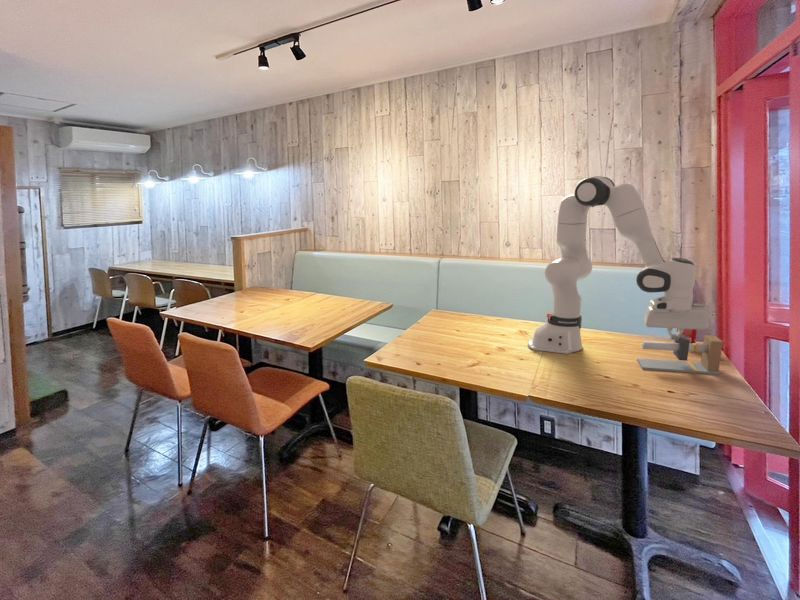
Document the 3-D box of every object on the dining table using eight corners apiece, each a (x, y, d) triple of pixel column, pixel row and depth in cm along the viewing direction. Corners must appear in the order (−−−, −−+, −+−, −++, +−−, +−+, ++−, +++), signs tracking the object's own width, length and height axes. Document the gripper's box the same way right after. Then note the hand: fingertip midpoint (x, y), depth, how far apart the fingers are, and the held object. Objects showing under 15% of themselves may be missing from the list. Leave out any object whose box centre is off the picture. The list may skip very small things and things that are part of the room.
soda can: (698, 349, 183) (701, 319, 180) (678, 349, 184) (682, 319, 181) (690, 343, 190) (694, 314, 187) (672, 343, 191) (675, 314, 188)
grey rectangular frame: (679, 360, 162) (681, 340, 160) (673, 353, 169) (675, 334, 167) (687, 360, 161) (689, 340, 160) (680, 353, 168) (683, 334, 167)
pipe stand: (642, 369, 166) (645, 338, 163) (637, 360, 174) (640, 331, 171) (720, 374, 159) (724, 342, 156) (710, 365, 167) (715, 334, 164)
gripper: (707, 301, 161) (703, 338, 164) (644, 300, 167) (641, 335, 170) (714, 306, 155) (709, 343, 158) (648, 304, 161) (645, 340, 164)
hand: (673, 339), depth 164 cm, fingers closed
